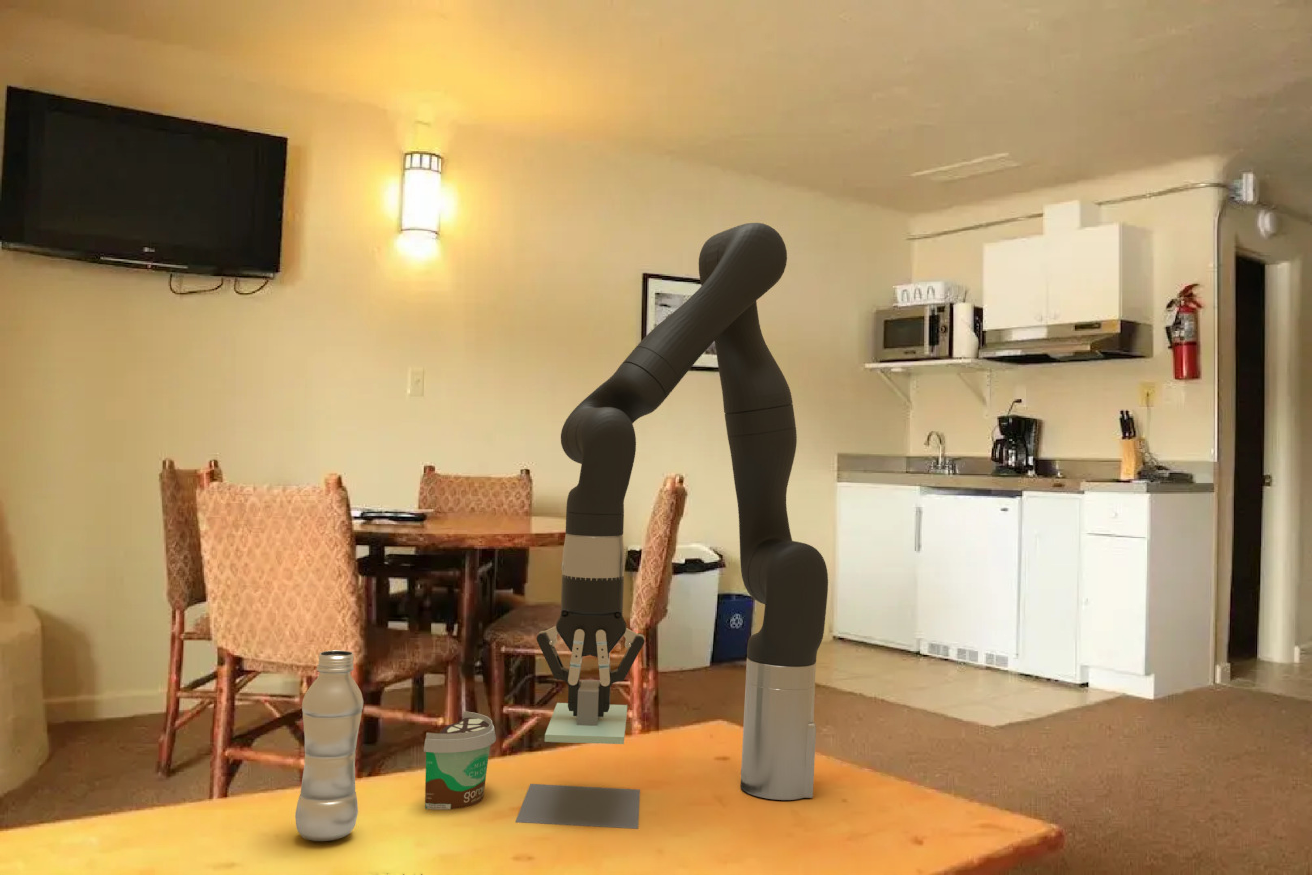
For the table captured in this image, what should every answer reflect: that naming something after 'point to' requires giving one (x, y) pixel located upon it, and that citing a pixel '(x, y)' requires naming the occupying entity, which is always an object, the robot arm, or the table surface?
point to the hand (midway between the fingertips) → (588, 714)
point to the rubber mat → (580, 806)
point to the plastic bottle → (330, 750)
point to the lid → (587, 720)
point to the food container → (458, 762)
